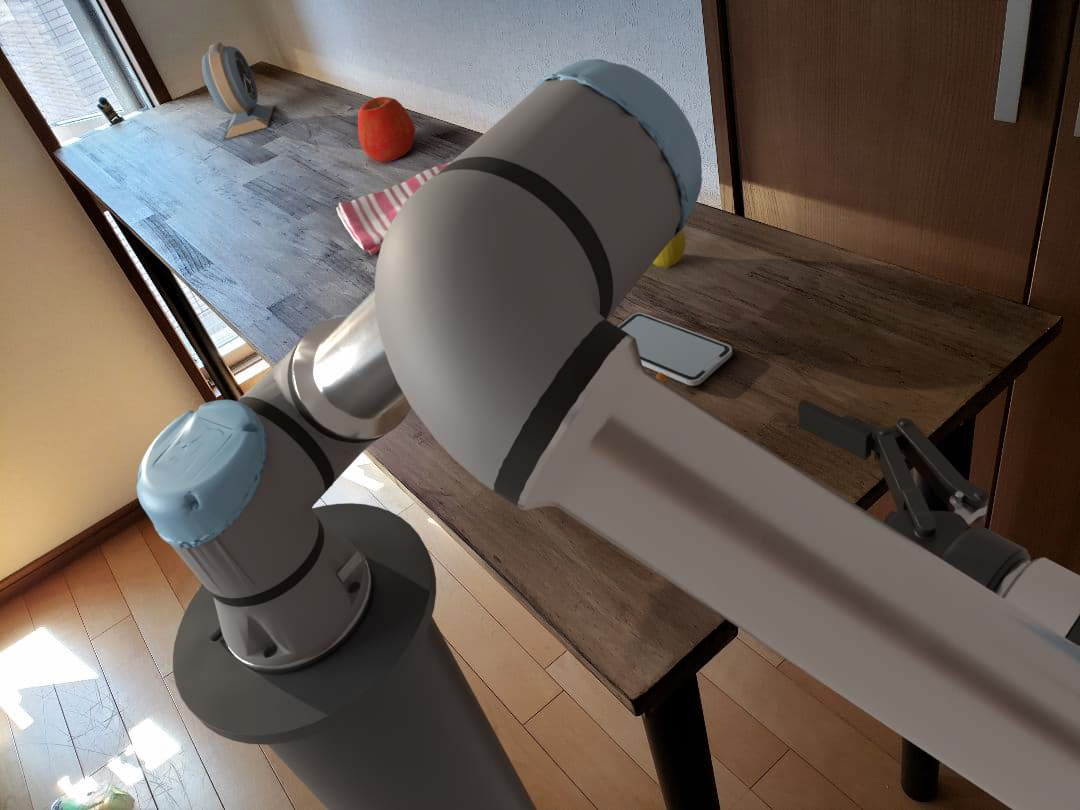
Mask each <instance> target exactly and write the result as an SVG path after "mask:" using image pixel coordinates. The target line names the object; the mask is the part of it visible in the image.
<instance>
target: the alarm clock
mask: <svg viewBox="0 0 1080 810" xmlns="http://www.w3.org/2000/svg"><path fill="white" fill-rule="evenodd" d="M201 71H202V75H203V80H204V82H205V84H206V88H207V89H208V92H209V95H211V98H212V100H213V101H214V103H215V104H216V106H218V108H219V109H220V110H221V111H222V112H224V113H226V114H234V115H233V116H232V117H231V119H230V121H229V124H228V127H227V129H226V135H225V139H226V140H227V139H231V138H234V137H237V136H242V135H244V134H249V133H252V132H255V131H258V130H262V129H266V128H268V127H269V123H270V120H271V117H272V114H273V110H274V106H273V105H264V104H263V105H262V104H259V103H258V101H259V93H258V87H257V83H256V80H255V77H254V74H253V72H252V69H251V67H250V65H249V63H248V61H247V59H246V58H245V56H244V54H243V53H242V52H241V51H240V50H239V49H238V47H234V46H230V45H224V44H223V43H222V42H216V43H212V44H211V45H209V47H208V51H207V52H206V53H205V54H203V56H202V58H201Z"/></svg>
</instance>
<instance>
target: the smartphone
mask: <svg viewBox="0 0 1080 810" xmlns="http://www.w3.org/2000/svg"><path fill="white" fill-rule="evenodd" d="M617 327H618V328H620V329H622V330H623V331H625V332H626V333H628V334H630V335H631V336H633V337H634V338H636V342H637V346H638V350H639V354H640V358H641V362H642V366H643V367H645V368H648V369H650V370H653V371H654V372H657V373H660V372H661V373H663V374H664V376H665V377H666V376H667V377H669V378H671V379H674V380H676V381H678V382H680V383H682V384H685V385H688V386H689V387H690V386H691V387H693V386H698V385H701V384H702V383H703V382H705V381H706V379H708V377H710V376H711V375H712V374H713V373H715V371H717V370H718V369H719V368H720V367H721V366H722V365H724V364H725V363H726V362H727V361H728V360H729V359H730V358H731V357H732V356H733V348H732V347H731V345H729V344H727V343H725V342H722V341H719V340H716V339H714V338H712V337H709V336H707V335H706V336H705V335H703V334H700V333H697V332H694V331H692V330H689V329H687V328H684V327H681V326H679V325H676V324H673V323H671V322H668V321H665V320H663V319H660V318H658V317H654V316H652V315H649V314H646V313H644V312H635V313H633V314H632V315H630V316H629V317H628V318H626V319H625V320H624V321H623V322H621V323H620V324H619V325H618V326H617Z"/></svg>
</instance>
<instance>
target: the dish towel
mask: <svg viewBox="0 0 1080 810" xmlns="http://www.w3.org/2000/svg"><path fill="white" fill-rule="evenodd" d="M451 162H452V161H450V162H446V163H443V164H442V165H441V164H440V165H437V166H434V167H432V168H428V169H425V170H423V171H422V172H420V173H417V174H416V175H414V176H413V177H411V178H410V179H407V180H405V181H402V182H401V183H399V184H395V185H393V186H391V187H388V188H385V189H383V190H382V191H380V192H374V193H370V194H367V195H364V196H361V197H359V198H355V199H353V200H351V201H349V202H345V201H340V202H338V206H336V212H337V216H338V217H339V219H340V220H341V222H342V224H343V226H344V227H345V229H346V231H347V233H349V235H350V236H351V238H352V240H353V241H354V242H355V243H356V244H357V245H358V247H360V249H362V251H367V252H368V253H369V254H370V256H373V255H375V254H377V253H379V252H380V249H381V245H382V242H383V240H384V237H385V235H386V233H387V231H388V229H389V227H390V225H391V223H392V221H393V219H394V218H395V216H396V215H397V213H398V212H399V210H400V209H401V207H402V206H403V205H404V203H405V202H406V201H407V200H408V199H409V198H410V197H411V196H412V195H413V194H414V193H415V192H416V190H417V189H418V188H419V187H421V186H422V185H423V184H424V183H425V182H427V181H428V180H429V179H431V178H433V177H434V176H436V175H437V174H438V173H439V172H440V171H441V170H442V169H443V168H445V167H446V166H447V165H449V164H450V163H451Z"/></svg>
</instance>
